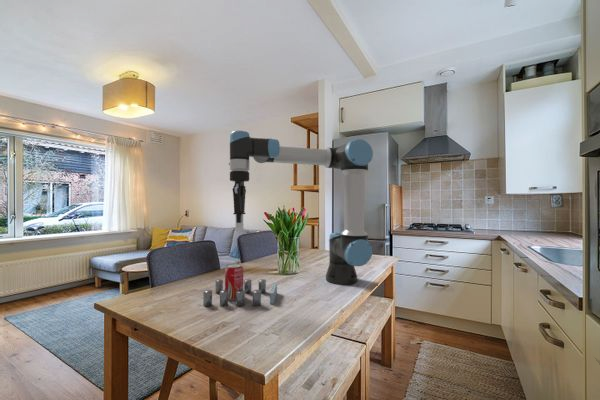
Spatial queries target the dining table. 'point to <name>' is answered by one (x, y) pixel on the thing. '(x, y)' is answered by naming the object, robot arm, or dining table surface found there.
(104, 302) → the dining table surface
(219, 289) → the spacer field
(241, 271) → the soda can
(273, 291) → the stop rail
